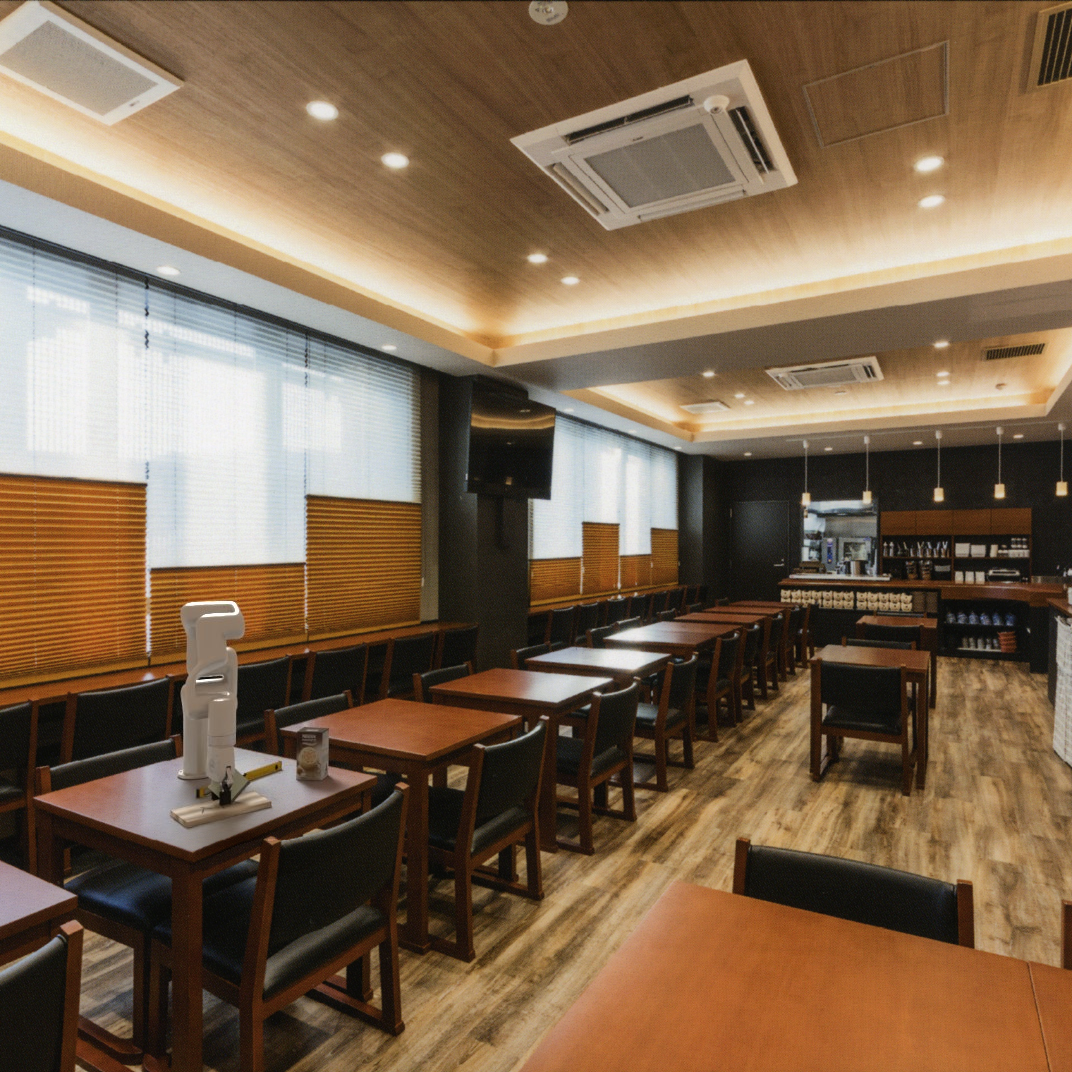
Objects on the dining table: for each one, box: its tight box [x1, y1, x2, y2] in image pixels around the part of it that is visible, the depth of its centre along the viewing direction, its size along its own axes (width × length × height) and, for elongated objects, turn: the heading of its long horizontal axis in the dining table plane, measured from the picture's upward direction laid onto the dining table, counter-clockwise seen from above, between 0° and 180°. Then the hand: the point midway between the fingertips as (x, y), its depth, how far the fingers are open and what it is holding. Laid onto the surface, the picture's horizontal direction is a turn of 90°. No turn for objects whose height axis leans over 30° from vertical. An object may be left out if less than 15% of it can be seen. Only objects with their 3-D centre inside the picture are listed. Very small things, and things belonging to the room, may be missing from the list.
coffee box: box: [295, 726, 330, 781], centre depth 246 cm, size 9×6×16 cm
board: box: [170, 790, 272, 829], centre depth 215 cm, size 13×24×2 cm, turn 134°
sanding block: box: [207, 768, 251, 805], centre depth 217 cm, size 5×8×7 cm
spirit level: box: [195, 760, 283, 799], centre depth 240 cm, size 34×1×3 cm, turn 153°
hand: (221, 801), depth 215 cm, fingers closed on sanding block, 5 cm apart
